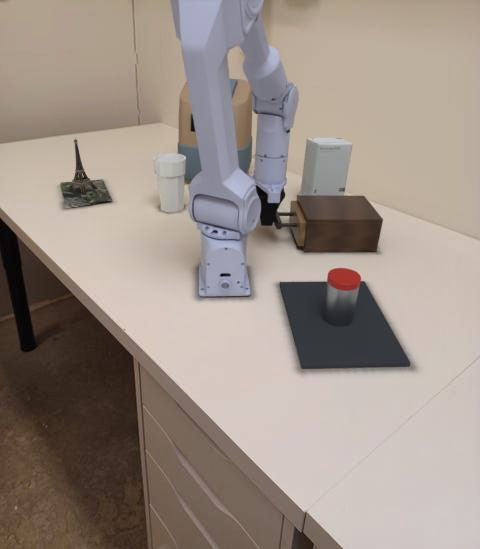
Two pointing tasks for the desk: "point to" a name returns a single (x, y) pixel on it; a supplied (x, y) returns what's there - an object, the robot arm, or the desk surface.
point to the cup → (170, 180)
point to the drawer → (293, 222)
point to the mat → (340, 331)
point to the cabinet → (340, 223)
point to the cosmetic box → (325, 166)
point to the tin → (341, 296)
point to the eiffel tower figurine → (83, 187)
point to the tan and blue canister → (241, 121)
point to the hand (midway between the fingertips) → (266, 224)
